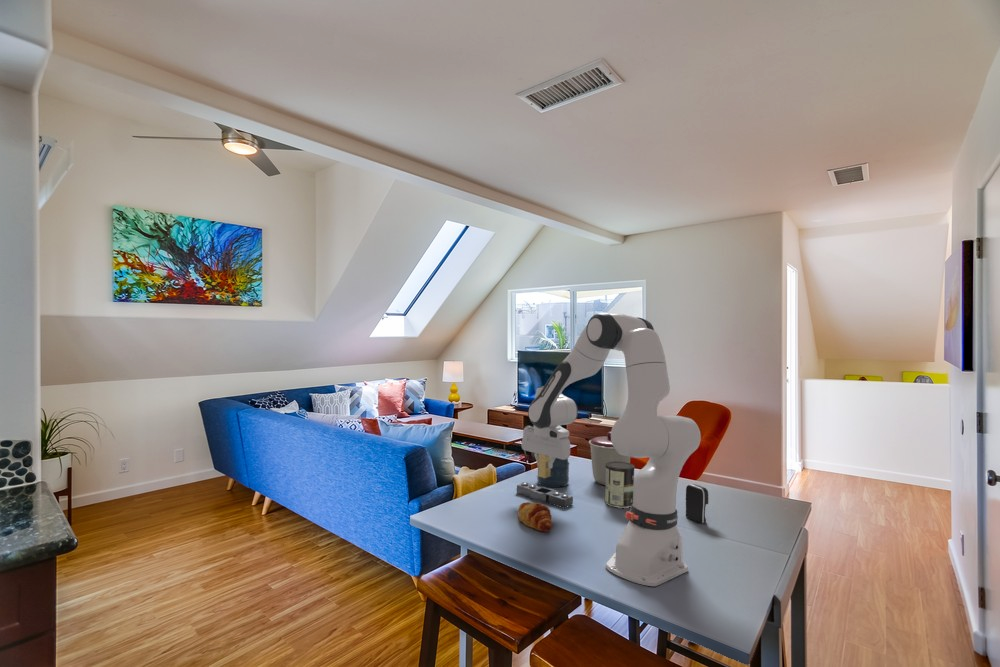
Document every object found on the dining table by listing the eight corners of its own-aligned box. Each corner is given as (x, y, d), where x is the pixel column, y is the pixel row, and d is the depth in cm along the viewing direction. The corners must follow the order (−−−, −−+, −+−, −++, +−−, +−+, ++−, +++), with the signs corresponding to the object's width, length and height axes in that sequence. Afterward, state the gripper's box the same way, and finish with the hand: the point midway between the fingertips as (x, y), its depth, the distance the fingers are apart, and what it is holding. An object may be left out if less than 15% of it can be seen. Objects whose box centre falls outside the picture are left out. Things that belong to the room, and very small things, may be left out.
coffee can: (629, 499, 178) (630, 461, 178) (637, 509, 168) (638, 469, 168) (602, 498, 178) (603, 460, 178) (607, 508, 168) (608, 468, 168)
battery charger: (709, 523, 157) (710, 488, 157) (701, 524, 155) (702, 489, 155) (692, 515, 163) (693, 482, 163) (684, 517, 161) (685, 483, 162)
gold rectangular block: (545, 478, 174) (545, 453, 174) (538, 476, 176) (538, 451, 176) (550, 476, 177) (551, 452, 176) (543, 474, 179) (544, 450, 179)
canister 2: (635, 480, 202) (636, 430, 203) (628, 492, 186) (630, 438, 186) (593, 473, 210) (594, 426, 210) (583, 485, 193) (584, 433, 193)
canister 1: (534, 478, 201) (535, 436, 201) (564, 478, 203) (565, 436, 203) (540, 488, 188) (541, 443, 188) (572, 487, 190) (573, 443, 190)
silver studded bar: (562, 509, 166) (563, 498, 166) (515, 493, 181) (515, 484, 181) (574, 504, 171) (574, 494, 171) (526, 489, 186) (526, 480, 186)
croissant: (513, 522, 162) (504, 502, 161) (537, 505, 166) (528, 485, 165) (542, 547, 143) (531, 524, 141) (568, 527, 146) (557, 505, 145)
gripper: (518, 425, 181) (517, 462, 181) (563, 435, 167) (561, 474, 167) (529, 423, 186) (528, 459, 186) (573, 432, 172) (572, 470, 172)
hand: (544, 466), depth 176 cm, fingers closed on gold rectangular block, 3 cm apart
